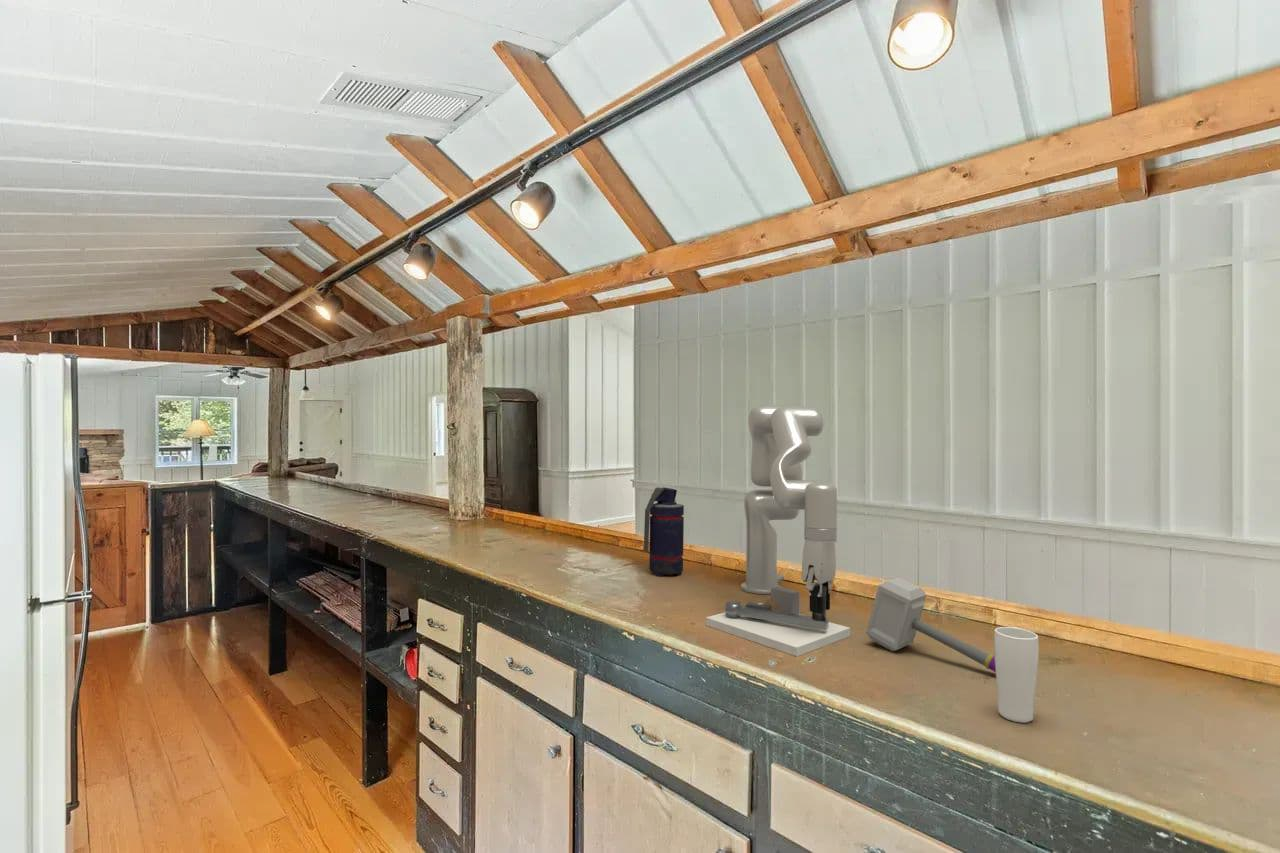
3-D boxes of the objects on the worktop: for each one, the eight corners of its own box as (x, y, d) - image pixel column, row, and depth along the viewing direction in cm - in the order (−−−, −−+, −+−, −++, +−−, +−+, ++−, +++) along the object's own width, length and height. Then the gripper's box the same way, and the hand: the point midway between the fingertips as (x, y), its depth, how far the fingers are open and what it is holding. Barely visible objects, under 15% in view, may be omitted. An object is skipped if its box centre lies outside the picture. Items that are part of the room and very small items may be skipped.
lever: (723, 615, 159) (723, 575, 159) (730, 610, 164) (731, 571, 164) (825, 633, 146) (825, 589, 146) (830, 627, 151) (830, 584, 151)
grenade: (675, 568, 224) (676, 486, 224) (688, 576, 212) (689, 489, 212) (639, 570, 219) (640, 486, 220) (650, 578, 208) (651, 490, 208)
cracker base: (705, 625, 159) (706, 594, 159) (760, 609, 173) (760, 581, 173) (796, 656, 138) (797, 620, 138) (850, 636, 152) (850, 603, 152)
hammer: (1033, 637, 126) (896, 574, 148) (1020, 646, 121) (880, 579, 143) (1012, 703, 129) (880, 631, 151) (998, 714, 124) (864, 638, 146)
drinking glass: (985, 708, 113) (985, 626, 113) (1020, 707, 113) (1020, 626, 113) (1010, 726, 106) (1011, 639, 106) (1047, 725, 106) (1048, 638, 106)
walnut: (759, 614, 160) (759, 599, 161) (768, 611, 163) (769, 596, 163) (771, 618, 157) (771, 602, 157) (781, 615, 160) (781, 599, 160)
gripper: (819, 529, 158) (818, 600, 157) (790, 537, 145) (790, 615, 145) (848, 532, 153) (847, 606, 153) (821, 540, 140) (820, 621, 140)
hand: (819, 609), depth 149 cm, fingers closed on lever, 3 cm apart
